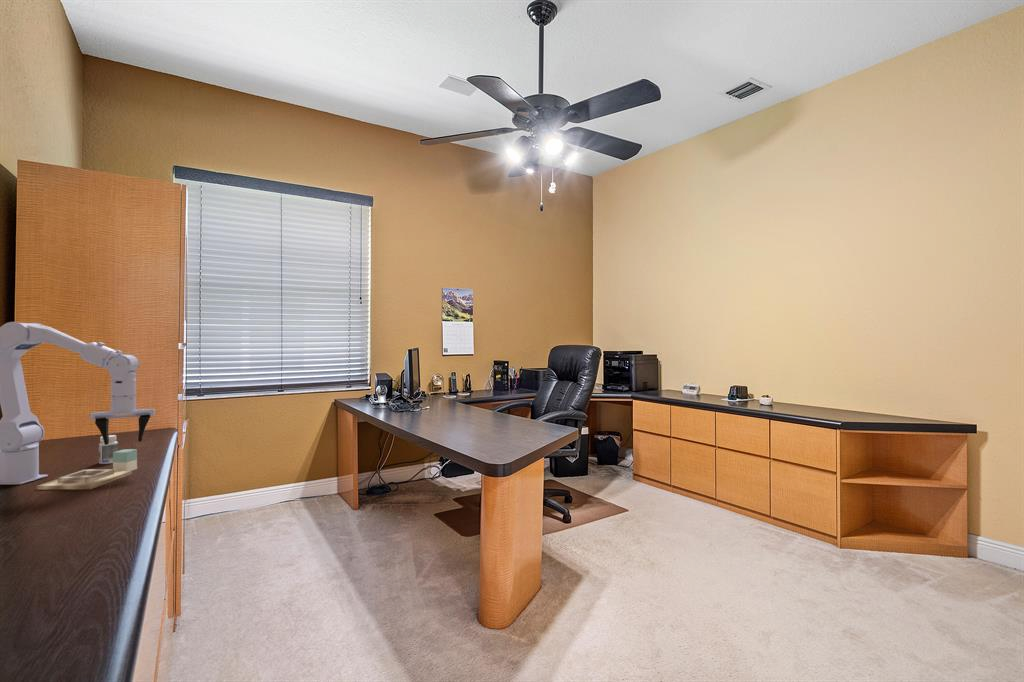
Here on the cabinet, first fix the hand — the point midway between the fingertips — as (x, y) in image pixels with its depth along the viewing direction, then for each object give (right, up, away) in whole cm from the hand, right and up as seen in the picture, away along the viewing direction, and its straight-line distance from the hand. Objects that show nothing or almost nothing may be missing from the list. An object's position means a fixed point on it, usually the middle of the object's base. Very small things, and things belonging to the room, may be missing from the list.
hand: (123, 442), depth 141 cm
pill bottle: (-16, -10, +14) cm, 23 cm away
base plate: (-5, -9, -7) cm, 13 cm away
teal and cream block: (-3, -9, +4) cm, 11 cm away
